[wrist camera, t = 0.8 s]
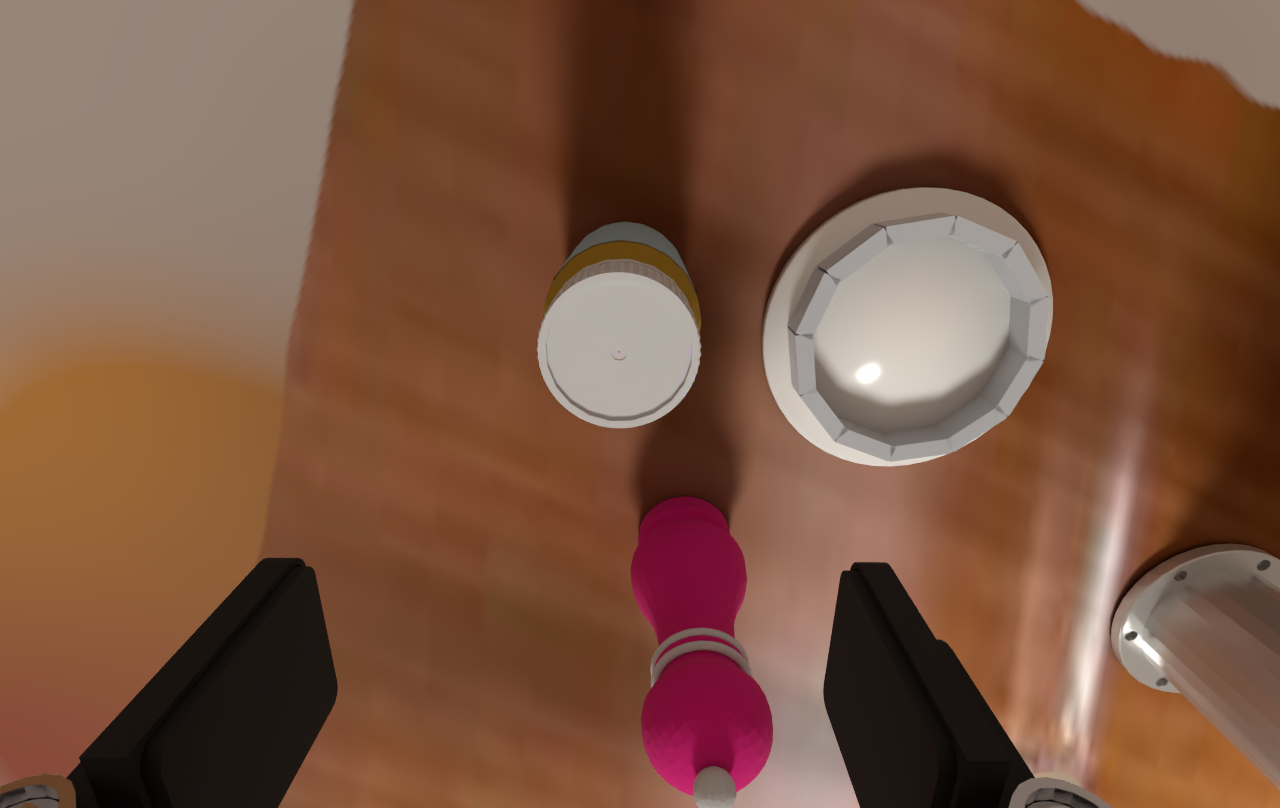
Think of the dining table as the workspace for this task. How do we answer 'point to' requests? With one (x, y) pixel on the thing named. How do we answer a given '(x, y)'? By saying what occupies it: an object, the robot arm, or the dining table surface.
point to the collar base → (907, 326)
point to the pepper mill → (698, 655)
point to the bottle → (621, 328)
